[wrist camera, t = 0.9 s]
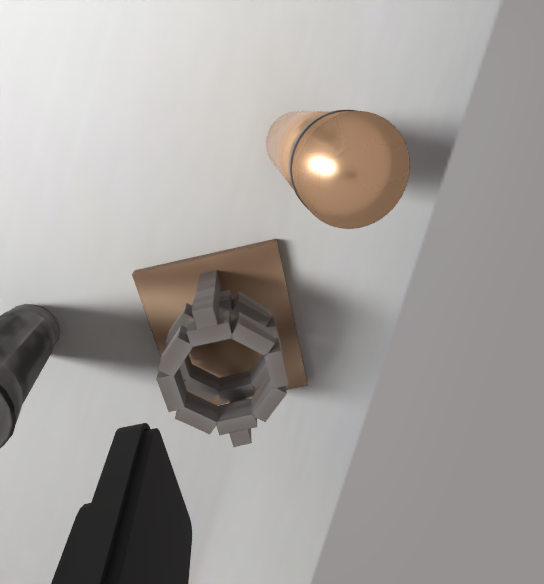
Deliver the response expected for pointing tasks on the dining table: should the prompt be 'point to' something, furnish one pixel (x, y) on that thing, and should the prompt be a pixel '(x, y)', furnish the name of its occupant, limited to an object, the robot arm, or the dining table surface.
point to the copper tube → (341, 164)
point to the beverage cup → (22, 358)
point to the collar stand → (223, 337)
